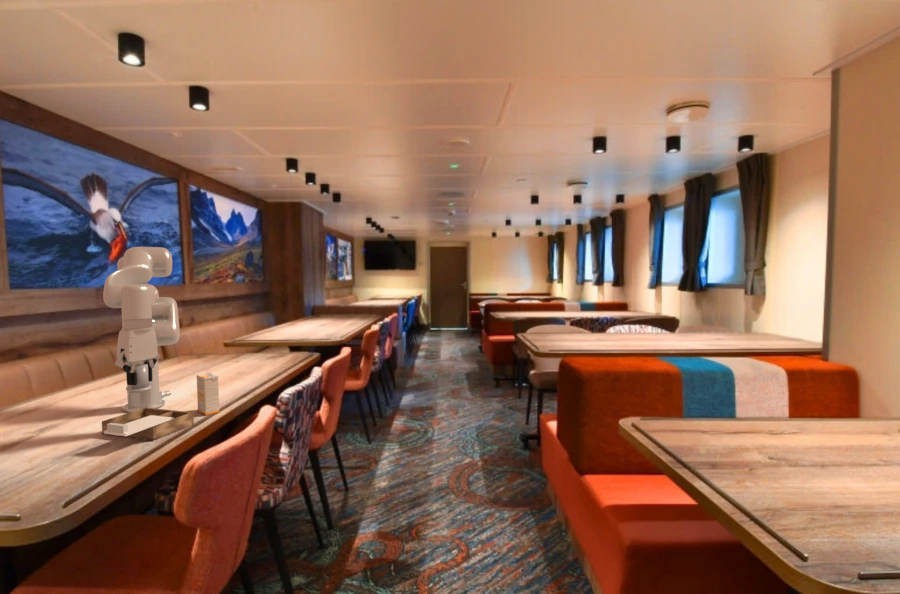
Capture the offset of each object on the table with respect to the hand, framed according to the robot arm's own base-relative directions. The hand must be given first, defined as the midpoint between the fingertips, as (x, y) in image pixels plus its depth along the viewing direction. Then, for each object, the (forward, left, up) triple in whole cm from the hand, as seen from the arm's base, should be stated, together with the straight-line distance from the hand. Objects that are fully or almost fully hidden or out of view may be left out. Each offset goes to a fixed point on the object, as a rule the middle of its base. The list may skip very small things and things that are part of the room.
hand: (140, 382), depth 135 cm
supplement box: (-19, +7, -15) cm, 25 cm away
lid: (+8, +9, -10) cm, 16 cm away
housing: (0, +3, -15) cm, 15 cm away
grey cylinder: (0, 0, -3) cm, 3 cm away
